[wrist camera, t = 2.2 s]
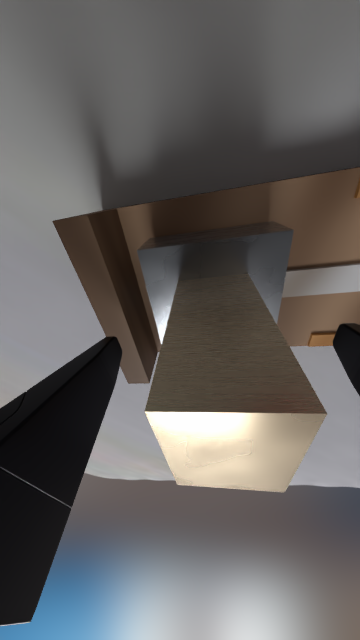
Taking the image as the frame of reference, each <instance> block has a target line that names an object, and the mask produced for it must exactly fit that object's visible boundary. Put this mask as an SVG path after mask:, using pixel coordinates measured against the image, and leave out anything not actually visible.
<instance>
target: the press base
mask: <svg viewBox="0 0 360 640" xmlns="http://www.w3.org/2000/svg"><path fill="white" fill-rule="evenodd" d="M269 221H274V222H277V223H279V224H281V225H284V226H286V227H288V228H291V229H293V230H294V232H293V238H292V243H291V249H290V254H289V260H288V265H287V271H286V277H285V282H284V288H283V293H282V299H281V304H280V310H279V316H278V321H277V326H278V327H279V329H280V331H281V333H282V334H283V336H284V338H285V340H286V342H287V343H288V345H289V346H309V347H310V346H333V338H334V336H335V334H336V331H337V329H338V326H339V325H340V324H342V323H356V324H359V325H360V167H355V168H349V169H344V170H338V171H332V172H326V173H320V174H314V175H308V176H303V177H297V178H291V179H285V180H279V181H273V182H267V183H261V184H256V185H250V186H244V187H238V188H232V189H226V190H220V191H214V192H209V193H203V194H197V195H191V196H185V197H179V198H173V199H168V200H162V201H156V202H150V203H144V204H138V205H132V206H126V207H121V208H115V209H109V210H103V211H98V212H93V213H88V214H84V215H79V216H74V217H69V218H64V219H60V220H55V221H53V224H54V226H55V228H56V230H57V232H58V234H59V236H60V239H61V241H62V243H63V245H64V247H65V249H66V251H67V253H68V256H69V258H70V260H71V262H72V264H73V266H74V268H75V271H76V273H77V275H78V277H79V279H80V281H81V283H82V286H83V288H84V290H85V292H86V294H87V296H88V298H89V301H90V303H91V305H92V307H93V309H94V311H95V313H96V316H97V318H98V320H99V322H100V324H101V326H102V328H103V330H104V333H105V335H106V337H108V336H115V337H117V339H118V341H119V343H120V346H121V348H122V358H121V362H120V367H121V369H122V371H123V373H124V375H125V378H126V380H127V382H128V384H131V383H150V379H151V375H152V371H153V368H154V364H155V360H156V356H157V353H158V352H160V349H161V345H162V344H161V341H160V337H159V333H158V329H157V325H156V322H155V318H154V314H153V310H152V306H151V303H150V299H149V295H148V291H147V287H146V284H145V280H144V276H143V272H142V268H141V265H140V261H139V257H138V253H137V250H138V249H139V248H140V247H141V246H142V245H143V244H144V243H145V242H146V241H147V240H148V239H149V238H155V237H162V236H169V235H176V234H183V233H190V232H198V231H205V230H212V229H219V228H226V227H233V226H241V225H248V224H255V223H262V222H269Z"/></svg>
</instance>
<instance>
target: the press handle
mask: <svg viewBox="0 0 360 640" xmlns="http://www.w3.org/2000/svg"><path fill="white" fill-rule="evenodd" d="M293 232H294V230H293V229H291V228H288V227H286V226H284V225H281V224H279V223H277V222H274V221H269V222H262V223H255V224H248V225H241V226H233V227H226V228H219V229H212V230H205V231H198V232H190V233H183V234H176V235H169V236H162V237H155V238H149V239H148V240H147V241H146V242H145V243H144V244H143V245H142V246H141V247H140V248H139V249H138V250H137V253H138V257H139V261H140V265H141V268H142V272H143V276H144V280H145V284H146V287H147V291H148V295H149V299H150V303H151V306H152V310H153V314H154V318H155V322H156V325H157V329H158V333H159V337H160V341H161V344H162V345H161V349H160V353H159V357H158V361H157V365H156V369H155V373H154V377H153V381H152V385H151V389H150V393H149V397H148V401H147V405H146V409H145V413H146V416H147V418H148V420H149V422H150V425H151V427H152V429H153V431H154V433H155V436H156V438H157V440H158V442H159V445H160V447H161V449H162V451H163V453H164V456H165V458H166V460H167V462H168V465H169V467H170V469H171V471H172V473H173V476H174V478H175V480H176V482H177V484H178V485H189V486H203V487H217V488H230V489H245V490H258V491H271V492H285V491H286V489H287V487H288V485H289V483H290V482H291V480H292V478H293V476H294V474H295V472H296V470H297V469H298V467H299V465H300V463H301V461H302V459H303V458H304V456H305V454H306V452H307V450H308V448H309V447H310V445H311V443H312V441H313V439H314V437H315V435H316V434H317V432H318V430H319V428H320V426H321V424H322V423H323V421H324V419H325V417H326V415H327V412H326V411H325V409H324V407H323V405H322V404H321V402H320V400H319V398H318V396H317V395H316V393H315V391H314V389H313V388H312V386H311V384H310V382H309V381H308V379H307V377H306V375H305V373H304V372H303V370H302V368H301V366H300V365H299V363H298V361H297V359H296V358H295V356H294V354H293V352H292V350H291V349H290V347H289V345H288V343H287V342H286V340H285V338H284V336H283V334H282V333H281V331H280V329H279V327H278V326H277V321H278V316H279V310H280V304H281V299H282V293H283V288H284V282H285V277H286V271H287V265H288V260H289V254H290V249H291V243H292V238H293Z"/></svg>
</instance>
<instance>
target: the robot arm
mask: <svg viewBox="0 0 360 640" xmlns="http://www.w3.org/2000/svg"><path fill="white" fill-rule="evenodd" d="M333 346H334V349H335V351H336V353H337V355H338V357H339V359H340V361H341V363H342V365H343V367H344V369H345V371H346V373H347V375H348V377H349V379H350V381H351V383H352V384H353V386H354V388H355V389H356V391H357V393H358V394H359V396H360V325H359V324H356V323H342V324H340V325H339V326H338V329H337V331H336V334H335V336H334V338H333ZM121 358H122V348H121V346H120V343H119V341H118V339H117V337H115V336H108V337H105V338H104V339H102V340H101V341H99V342H98V343H96V344H95V345H94V346H92V347H91V348H89V349H88V350H86V351H85V352H83V353H82V354H80V355H79V356H77V357H76V358H74V359H73V360H71V361H70V362H68V363H67V364H66V365H64V366H63V367H61V368H60V369H58V370H57V371H55V372H54V373H52V374H51V375H49V376H48V377H46V378H45V379H43V380H42V381H40V382H39V383H37V384H36V385H35V386H33V387H32V388H30V389H29V390H27V392H24V393H23V394H21V395H20V396H18V397H17V398H15V399H14V400H12V401H11V402H9V403H8V404H6V405H5V406H3V407H2V408H0V626H6V625H14V624H22V623H29V622H31V620H32V617H33V615H34V612H35V610H36V607H37V604H38V601H39V599H40V596H41V593H42V590H43V587H44V585H45V582H46V579H47V576H48V573H49V571H50V567H51V565H52V562H53V559H54V556H55V554H56V551H57V548H58V545H59V542H60V540H61V537H62V534H63V531H64V528H65V525H66V523H67V520H68V517H69V514H70V511H71V507H72V505H73V502H74V499H75V497H76V494H77V491H78V488H79V485H80V483H81V480H82V477H83V474H84V471H85V468H86V466H87V463H88V460H89V457H90V454H91V452H92V449H93V446H94V443H95V440H96V437H97V435H98V432H99V429H100V426H101V423H102V420H103V418H104V415H105V412H106V409H107V406H108V404H109V401H110V398H111V395H112V392H113V389H114V386H115V383H116V379H117V375H118V371H119V367H120V362H121Z"/></svg>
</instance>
